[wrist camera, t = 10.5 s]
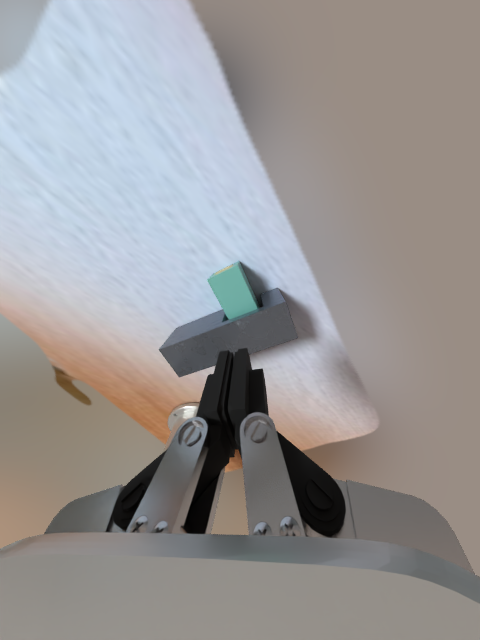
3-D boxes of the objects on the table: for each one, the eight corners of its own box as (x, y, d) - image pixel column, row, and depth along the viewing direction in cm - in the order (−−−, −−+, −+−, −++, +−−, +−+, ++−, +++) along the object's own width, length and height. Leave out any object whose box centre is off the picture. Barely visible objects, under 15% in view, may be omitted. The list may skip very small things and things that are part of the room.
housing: (288, 317, 26) (298, 337, 21) (191, 352, 30) (179, 377, 24) (277, 287, 24) (285, 301, 19) (176, 328, 28) (158, 349, 23)
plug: (269, 327, 27) (272, 341, 24) (246, 336, 28) (245, 350, 24) (238, 260, 23) (237, 264, 20) (212, 273, 24) (206, 279, 20)
